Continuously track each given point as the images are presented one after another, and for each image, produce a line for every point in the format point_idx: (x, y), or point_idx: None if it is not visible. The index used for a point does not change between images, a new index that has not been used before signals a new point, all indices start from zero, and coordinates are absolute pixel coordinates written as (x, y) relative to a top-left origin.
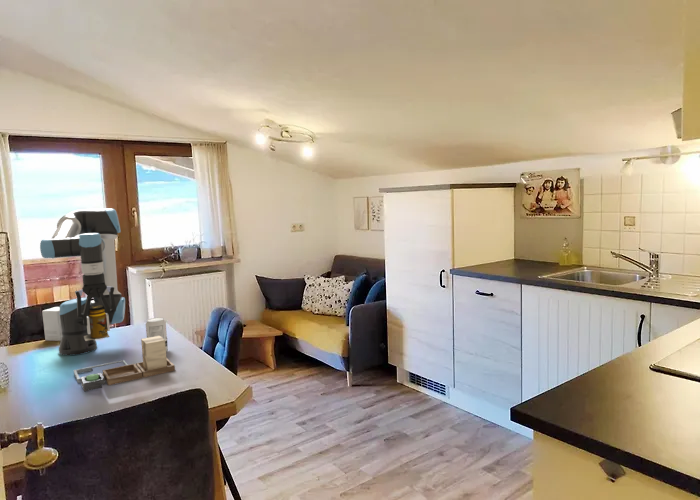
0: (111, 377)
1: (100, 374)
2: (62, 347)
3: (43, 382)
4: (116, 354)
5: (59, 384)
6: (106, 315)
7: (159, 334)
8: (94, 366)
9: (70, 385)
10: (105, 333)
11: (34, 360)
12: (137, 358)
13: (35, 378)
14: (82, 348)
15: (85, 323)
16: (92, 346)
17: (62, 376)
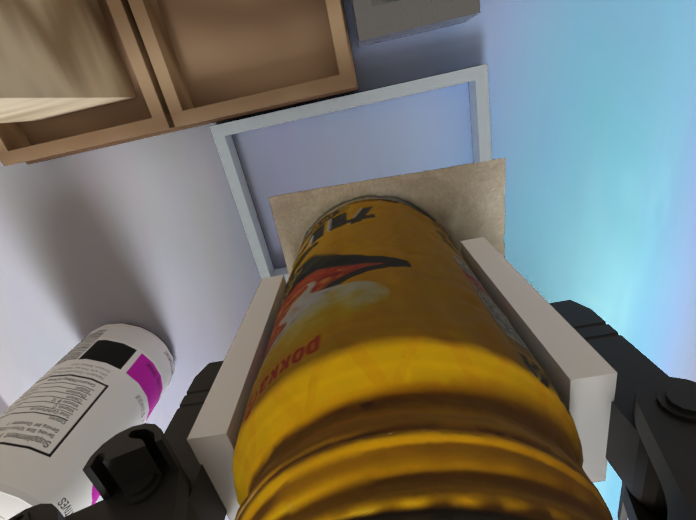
0: (303, 8)
1: (363, 1)
2: None
3: (627, 175)
4: None
5: (565, 99)
6: (226, 422)
7: (28, 396)
8: None
9: (517, 47)
10: (307, 239)
11: (609, 465)
12: (217, 322)
13: (646, 253)
14: None
15: (576, 324)
16: None
17: (538, 224)
